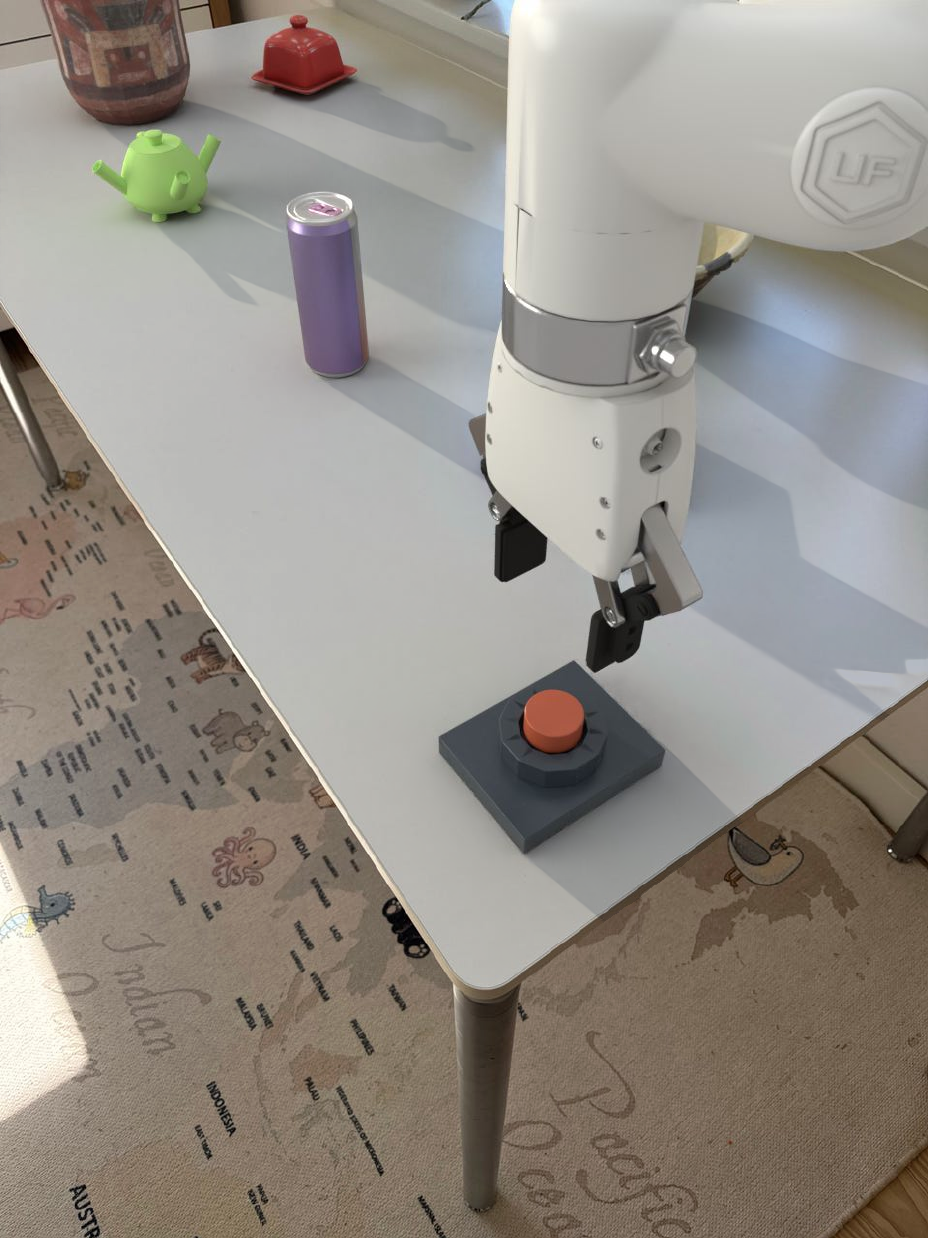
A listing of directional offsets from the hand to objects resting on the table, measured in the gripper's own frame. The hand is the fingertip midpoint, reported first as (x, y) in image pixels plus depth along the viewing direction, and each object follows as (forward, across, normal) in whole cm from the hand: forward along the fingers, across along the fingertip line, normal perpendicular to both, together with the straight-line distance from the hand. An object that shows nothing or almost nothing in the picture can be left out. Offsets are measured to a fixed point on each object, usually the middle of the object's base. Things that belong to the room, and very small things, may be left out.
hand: (564, 610), depth 54 cm
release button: (+11, 0, 0) cm, 11 cm away
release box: (+14, 0, 0) cm, 14 cm away
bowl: (+14, +37, -41) cm, 57 cm away
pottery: (+14, +116, -20) cm, 119 cm away
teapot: (+14, +85, -12) cm, 87 cm away
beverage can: (+14, +47, -12) cm, 50 cm away
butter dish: (+14, +111, -43) cm, 120 cm away
